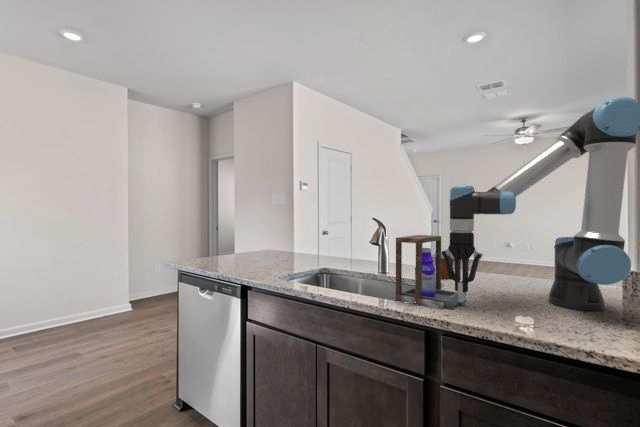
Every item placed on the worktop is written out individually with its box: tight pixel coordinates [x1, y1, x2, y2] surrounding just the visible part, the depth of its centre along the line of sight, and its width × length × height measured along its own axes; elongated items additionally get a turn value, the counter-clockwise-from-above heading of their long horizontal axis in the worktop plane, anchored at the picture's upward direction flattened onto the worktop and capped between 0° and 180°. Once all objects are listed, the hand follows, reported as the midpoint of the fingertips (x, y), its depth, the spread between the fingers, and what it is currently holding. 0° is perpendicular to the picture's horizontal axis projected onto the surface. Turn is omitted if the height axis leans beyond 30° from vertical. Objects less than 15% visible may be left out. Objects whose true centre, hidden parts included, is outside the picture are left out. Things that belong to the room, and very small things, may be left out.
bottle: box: [414, 247, 436, 297], centre depth 118 cm, size 7×6×17 cm
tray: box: [402, 286, 467, 310], centre depth 116 cm, size 18×14×4 cm
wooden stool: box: [395, 234, 445, 310], centre depth 117 cm, size 16×19×22 cm
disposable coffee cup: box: [433, 251, 455, 280], centre depth 154 cm, size 10×10×12 cm
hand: (461, 301), depth 110 cm, fingers closed
